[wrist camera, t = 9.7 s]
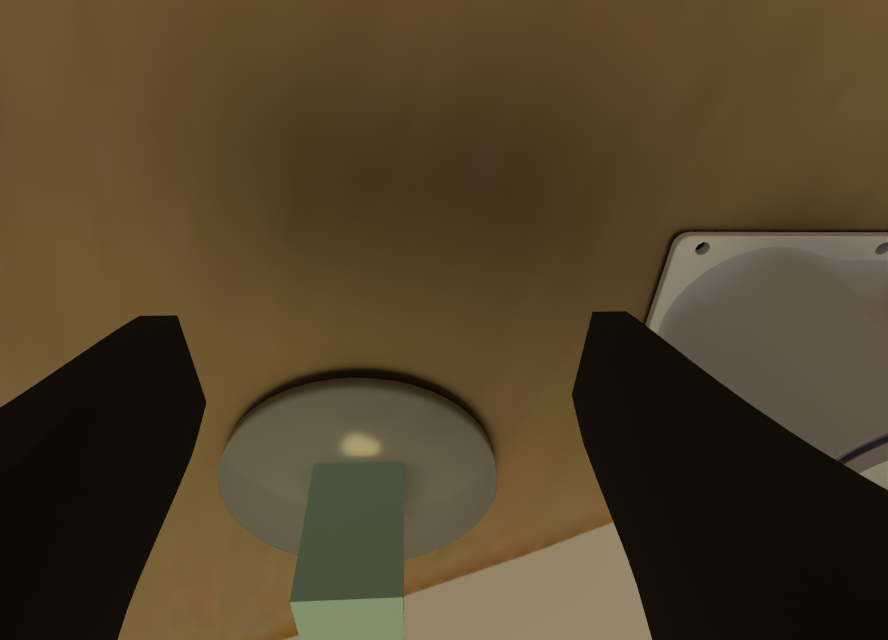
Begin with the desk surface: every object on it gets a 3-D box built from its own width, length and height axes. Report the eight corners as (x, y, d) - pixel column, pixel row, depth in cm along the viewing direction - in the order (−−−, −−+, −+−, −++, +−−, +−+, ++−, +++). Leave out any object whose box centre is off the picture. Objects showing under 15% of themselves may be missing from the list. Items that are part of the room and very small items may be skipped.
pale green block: (403, 461, 23) (403, 597, 18) (403, 513, 26) (403, 645, 21) (314, 463, 23) (289, 602, 18) (322, 515, 25) (303, 650, 20)
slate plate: (506, 365, 22) (511, 389, 21) (482, 533, 30) (485, 558, 29) (196, 370, 21) (183, 396, 20) (254, 542, 29) (247, 569, 28)
